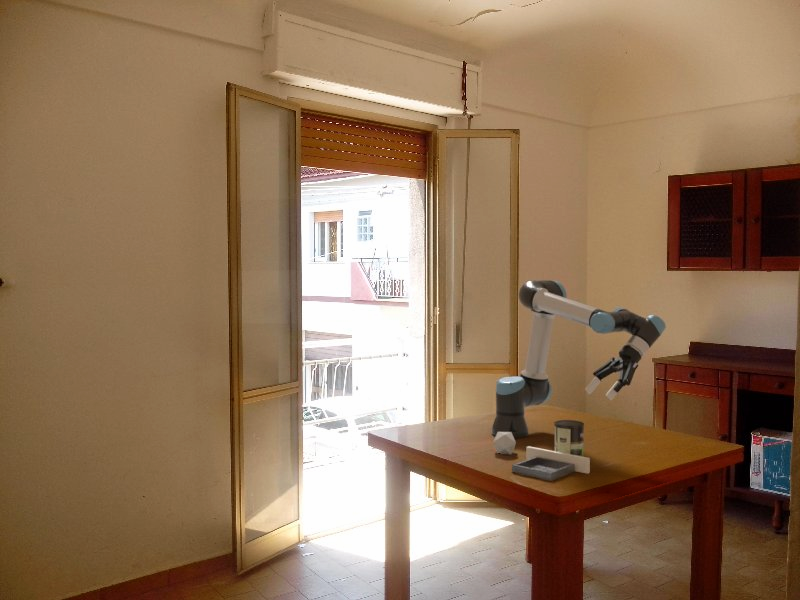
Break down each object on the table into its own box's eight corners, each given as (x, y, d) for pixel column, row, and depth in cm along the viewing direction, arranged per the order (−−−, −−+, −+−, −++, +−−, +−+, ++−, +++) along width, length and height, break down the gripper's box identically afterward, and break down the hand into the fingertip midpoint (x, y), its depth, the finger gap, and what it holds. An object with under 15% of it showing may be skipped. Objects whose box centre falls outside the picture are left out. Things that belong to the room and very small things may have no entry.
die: (507, 459, 258) (521, 437, 260) (487, 446, 261) (501, 424, 263) (507, 461, 266) (521, 440, 268) (487, 448, 269) (501, 427, 270)
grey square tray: (512, 472, 239) (512, 464, 239) (536, 463, 250) (536, 456, 250) (550, 481, 229) (551, 473, 229) (574, 471, 240) (574, 464, 240)
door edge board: (526, 460, 254) (526, 447, 253) (528, 460, 255) (528, 446, 255) (587, 473, 237) (587, 458, 237) (589, 472, 238) (589, 458, 238)
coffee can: (583, 459, 256) (583, 420, 255) (584, 466, 246) (584, 426, 245) (553, 457, 258) (553, 419, 257) (554, 465, 248) (554, 425, 247)
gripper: (661, 361, 246) (624, 407, 242) (619, 354, 270) (585, 396, 266) (648, 347, 245) (610, 392, 241) (607, 341, 269) (572, 383, 265)
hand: (597, 394), depth 254 cm, fingers open, 13 cm apart
